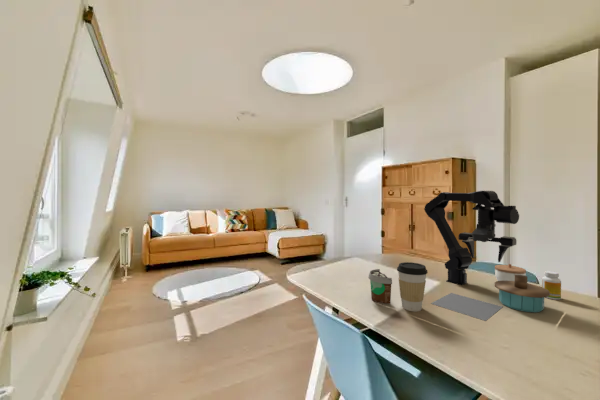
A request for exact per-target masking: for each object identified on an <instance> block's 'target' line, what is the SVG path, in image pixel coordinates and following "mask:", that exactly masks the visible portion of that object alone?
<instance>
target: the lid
mask: <svg viewBox="0 0 600 400" xmlns="http://www.w3.org/2000/svg"><path fill="white" fill-rule="evenodd" d="M494 287H495V288H496V289H498V290H499V289H500V290H502V291H505V292H508V293H511V294H515V295H520V296H526V297H536V298H543V297H544V298H546V297H548V296H549V295H550V292H549V291H548V290H547V289H545V288H542V286H538V285H536V284H533V283H528V276H527V275H526V276H524V275H515V281H498V280H497V281H495V282H494Z"/></svg>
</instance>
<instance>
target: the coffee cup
mask: <svg viewBox="0 0 600 400" xmlns="http://www.w3.org/2000/svg"><path fill="white" fill-rule="evenodd" d="M396 271H397V272H398V286H399V287H398V288H399V294H400V295H399V296H400V302H401V307H402V308H403V309H404V310H405V311H410V312H420V311H422V308H423V302H424V297H425V288H426V282H427V281H426V278H427V275H428V273H429V272H428V269H427V268H426V266H425V265H424V264H422V263H418V262H412V261H411V262H409V261H408V262H407V261H405V262H400V263H399V264H398V266H397V268H396Z"/></svg>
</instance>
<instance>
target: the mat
mask: <svg viewBox="0 0 600 400" xmlns="http://www.w3.org/2000/svg"><path fill="white" fill-rule="evenodd" d="M430 304H431V305H434V306H436V307H437V306H438V307H440V308H443V309H447V310H448V311H449V310H450V311H453V312H456V313H459V314H462V315H465V316H468V317H471V318H475V319H478V320H480V321H484V322H486V321H487V320H490V318H491V317H492V316H494V315H495V314H496V313H497V312H498V311H500V310H501V309H503V306H501V305H498V304H495V303H491V302H487V301H483V300H479V299H475V298H473V297H468V296H465V295H460V294H458V293H454V292H450V293H448V294H445V295H444V296H442V297H440V298H438V299H437V300H434V301H433V302H431V303H430Z"/></svg>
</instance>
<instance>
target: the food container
mask: <svg viewBox="0 0 600 400" xmlns="http://www.w3.org/2000/svg"><path fill="white" fill-rule="evenodd" d="M368 279H369V280H370V294H371V295H370V296H371V297H370V298H371V300H372V301H373V302H375V303H377V304H379V305H382V304H385V305H387V304H388V305H390V304H391V298H392V297H391V296H392V285H393V278H392V277H388V276H387V275H386V274H385V273H382V272H381V270H380V268H375V269H372V270H370V271H369V273H368Z"/></svg>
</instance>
